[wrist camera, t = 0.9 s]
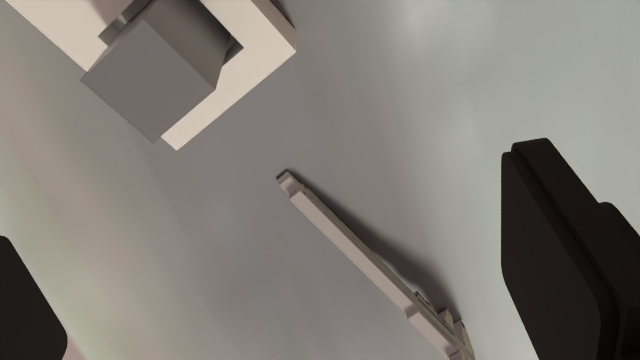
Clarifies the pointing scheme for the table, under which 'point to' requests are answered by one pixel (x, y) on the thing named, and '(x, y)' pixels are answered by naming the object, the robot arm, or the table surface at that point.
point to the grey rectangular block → (161, 64)
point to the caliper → (383, 275)
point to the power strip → (123, 3)
